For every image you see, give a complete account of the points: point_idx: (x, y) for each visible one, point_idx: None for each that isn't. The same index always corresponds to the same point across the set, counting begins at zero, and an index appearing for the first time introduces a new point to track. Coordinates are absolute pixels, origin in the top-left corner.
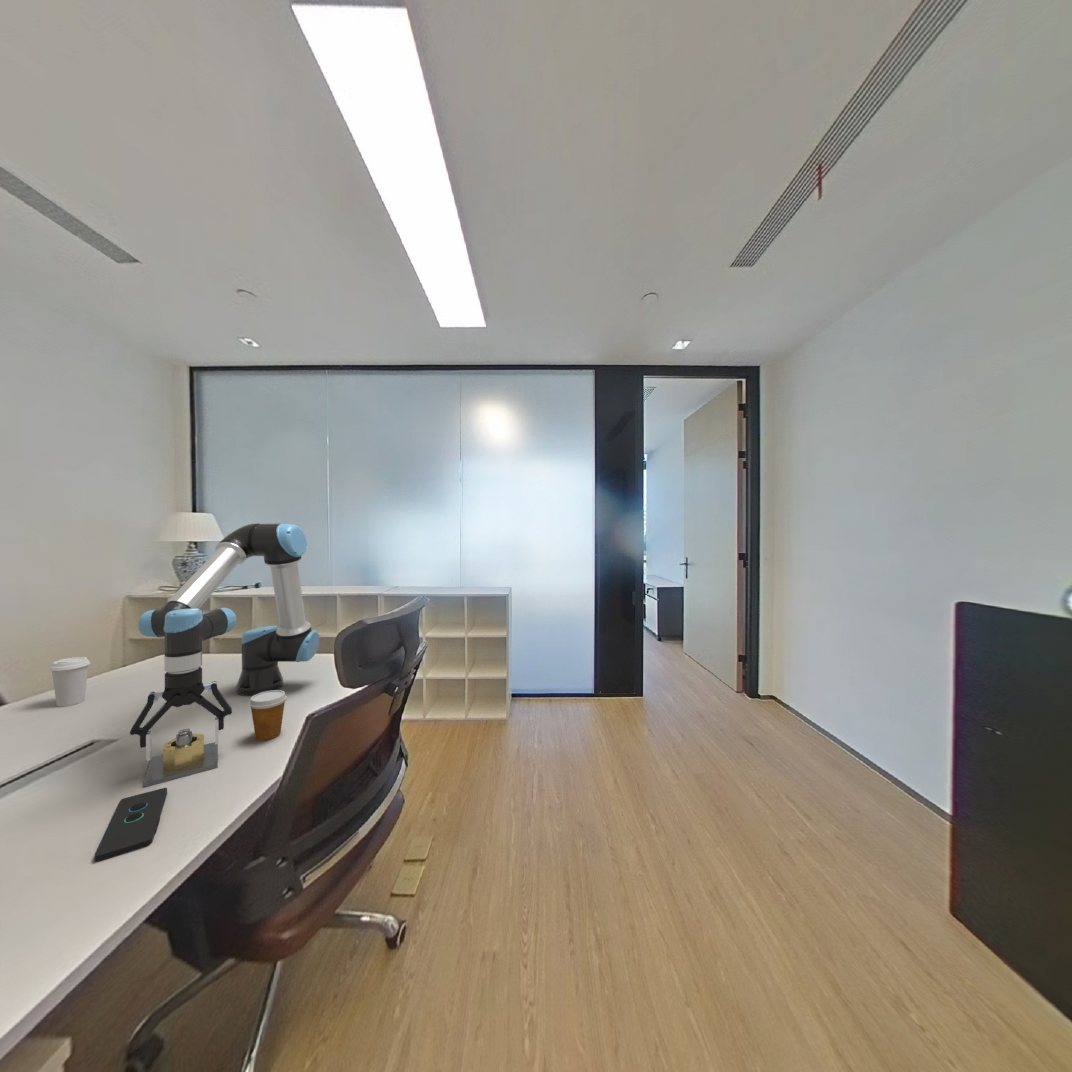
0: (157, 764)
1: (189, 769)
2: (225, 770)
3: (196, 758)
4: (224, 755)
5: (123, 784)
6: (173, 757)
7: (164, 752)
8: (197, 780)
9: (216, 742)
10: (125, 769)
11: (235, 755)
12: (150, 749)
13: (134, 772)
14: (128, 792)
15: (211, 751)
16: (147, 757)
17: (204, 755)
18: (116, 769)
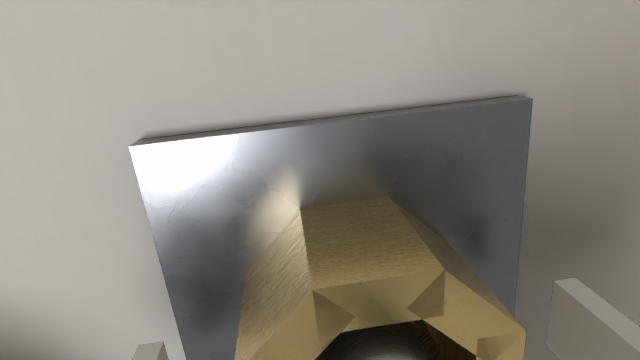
0: None
1: (302, 152)
2: (68, 64)
3: (277, 247)
4: (140, 291)
5: (598, 189)
6: (424, 238)
7: (498, 304)
8: (231, 7)
9: (148, 355)
10: None
11: (65, 262)
12: (610, 349)
13: None
14: (581, 75)
15: (217, 342)
16: (587, 293)
17: None
18: None
